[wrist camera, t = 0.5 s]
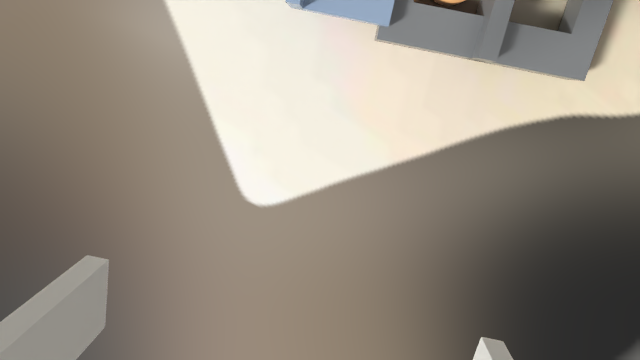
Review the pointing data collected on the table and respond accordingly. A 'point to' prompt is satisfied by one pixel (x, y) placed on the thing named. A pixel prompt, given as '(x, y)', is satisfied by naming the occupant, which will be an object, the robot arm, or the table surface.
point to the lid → (349, 9)
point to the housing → (501, 35)
